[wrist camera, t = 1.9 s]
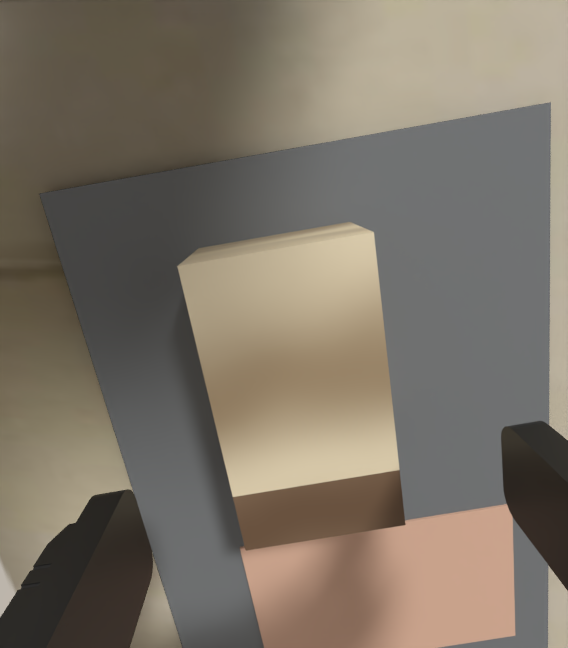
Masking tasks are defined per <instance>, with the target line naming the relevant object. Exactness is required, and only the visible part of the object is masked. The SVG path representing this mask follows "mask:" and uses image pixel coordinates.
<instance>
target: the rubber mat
mask: <svg viewBox="0 0 568 648" xmlns="http://www.w3.org/2000/svg"><path fill="white" fill-rule="evenodd" d="M550 138H551V102H550V103H545V104H539V105H533V106H528V107H522V108H517V109H511V110H505V111H500V112H494V113H489V114H483V115H477V116H472V117H466V118H461V119H455V120H449V121H444V122H438V123H433V124H427V125H421V126H416V127H410V128H404V129H399V130H393V131H388V132H382V133H376V134H371V135H365V136H360V137H354V138H348V139H343V140H337V141H332V142H326V143H320V144H315V145H309V146H304V147H298V148H292V149H287V150H281V151H276V152H270V153H264V154H259V155H253V156H247V157H242V158H236V159H231V160H225V161H219V162H214V163H208V164H203V165H197V166H191V167H186V168H180V169H175V170H169V171H163V172H158V173H152V174H147V175H141V176H135V177H130V178H124V179H119V180H113V181H107V182H102V183H96V184H90V185H85V186H79V187H74V188H68V189H62V190H57V191H51V192H46V193H40V194H39V195H40V198H41V201H42V204H43V207H44V210H45V214H46V217H47V220H48V223H49V226H50V229H51V233H52V236H53V239H54V242H55V245H56V248H57V252H58V255H59V258H60V261H61V264H62V267H63V270H64V274H65V277H66V280H67V283H68V286H69V289H70V293H71V296H72V299H73V302H74V305H75V308H76V312H77V315H78V318H79V321H80V324H81V327H82V331H83V334H84V337H85V340H86V343H87V346H88V350H89V353H90V356H91V359H92V362H93V365H94V368H95V372H96V375H97V378H98V381H99V384H100V387H101V391H102V394H103V397H104V400H105V403H106V406H107V410H108V413H109V416H110V419H111V422H112V425H113V429H114V432H115V435H116V438H117V441H118V444H119V448H120V451H121V454H122V457H123V460H124V463H125V466H126V470H127V473H128V476H129V479H130V482H131V485H132V489H133V492H134V495H135V498H136V500H137V504H138V507H139V510H140V513H141V517H142V520H143V523H144V526H145V529H146V533H147V536H148V539H149V542H150V546H151V549H152V552H153V555H154V558H155V561H156V564H157V568H158V571H159V574H160V577H161V580H162V583H163V587H164V590H165V593H166V596H167V599H168V602H169V606H170V609H171V612H172V615H173V618H174V621H175V625H176V628H177V631H178V634H179V637H180V640H181V644H182V647H183V648H548V564H547V562H546V561H545V560H544V559H543V557H542V556H541V555H540V553H539V552H538V551H537V549H536V548H535V547H534V545H533V544H532V543H531V541H530V540H529V539H528V537H527V536H526V535H525V533H524V532H523V531H522V529H521V528H520V527H519V525H518V524H517V523H516V521H515V520H514V518H513V517H512V515H511V513H510V511H509V508H508V506H507V503H506V500H505V496H504V490H503V470H502V449H501V432H502V429H503V428H504V427H506V426H511V425H517V424H523V423H529V422H535V421H543V422H545V423H547V424H548V425H549V325H550ZM347 222H351V223H354V224H356V225H358V226H361V227H363V228H365V229H368V230H370V231H372V232H374V238H375V247H376V257H377V266H378V275H379V284H380V294H381V303H382V312H383V321H384V330H385V340H386V349H387V358H388V367H389V377H390V386H391V395H392V404H393V414H394V423H395V432H396V441H397V451H398V460H399V469H400V478H401V487H402V497H403V506H404V515H405V524H406V525H403V526H397V527H391V528H384V529H378V530H372V531H366V532H359V533H353V534H347V535H341V536H334V537H328V538H322V539H316V540H309V541H303V542H297V543H291V544H284V545H278V546H272V547H266V548H259V549H253V550H247V551H246V550H245V546H244V542H243V537H242V533H241V529H240V525H239V521H238V517H237V513H236V508H235V504H234V500H233V496H232V492H231V488H230V483H229V479H228V475H227V471H226V467H225V463H224V458H223V454H222V450H221V446H220V442H219V438H218V433H217V429H216V425H215V421H214V417H213V413H212V408H211V404H210V400H209V396H208V392H207V388H206V384H205V379H204V375H203V371H202V367H201V363H200V359H199V354H198V350H197V346H196V342H195V338H194V334H193V329H192V325H191V321H190V317H189V313H188V309H187V304H186V300H185V296H184V292H183V288H182V284H181V280H180V275H179V271H178V267H177V266H178V265H179V264H181V263H182V262H183V261H184V260H185V259H186V258H188V257H189V256H190V255H191V254H192V253H194V252H195V251H196V250H197V249H198V248H203V247H209V246H215V245H220V244H226V243H232V242H238V241H243V240H249V239H255V238H261V237H266V236H272V235H278V234H284V233H289V232H295V231H301V230H306V229H312V228H318V227H324V226H329V225H335V224H341V223H347Z"/></svg>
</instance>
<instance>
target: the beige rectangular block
mask: <svg viewBox="0 0 568 648" xmlns="http://www.w3.org/2000/svg"><path fill="white" fill-rule="evenodd" d="M177 267H178V271H179V275H180V280H181V284H182V288H183V292H184V296H185V300H186V304H187V309H188V313H189V317H190V321H191V325H192V329H193V334H194V338H195V342H196V346H197V350H198V354H199V359H200V363H201V367H202V371H203V375H204V379H205V384H206V388H207V392H208V396H209V400H210V404H211V408H212V413H213V417H214V421H215V425H216V429H217V433H218V438H219V442H220V446H221V450H222V454H223V458H224V463H225V467H226V471H227V475H228V479H229V483H230V488H231V492H232V496H233V500H234V504H235V508H236V513H237V517H238V521H239V525H240V529H241V533H242V537H243V542H244V546H245V550H246V551H247V550H253V549H259V548H266V547H272V546H278V545H284V544H291V543H297V542H303V541H309V540H316V539H322V538H328V537H334V536H341V535H347V534H353V533H359V532H366V531H372V530H378V529H384V528H391V527H397V526H403V525H406V524H405V515H404V506H403V497H402V487H401V478H400V469H399V460H398V451H397V441H396V432H395V423H394V414H393V404H392V395H391V386H390V377H389V367H388V358H387V349H386V340H385V330H384V321H383V312H382V303H381V294H380V284H379V275H378V266H377V257H376V247H375V238H374V232H372V231H370V230H368V229H365V228H363V227H361V226H358V225H356V224H354V223H351V222H347V223H341V224H335V225H329V226H324V227H318V228H312V229H306V230H301V231H295V232H289V233H284V234H278V235H272V236H266V237H261V238H255V239H249V240H243V241H238V242H232V243H226V244H220V245H215V246H209V247H203V248H198V249H197V250H196V251H195V252H194V253H192V254H191V255H190V256H189V257H188V258H186V259H185V260H184V261H183V262H182V263H181V264H179V265H178V266H177Z"/></svg>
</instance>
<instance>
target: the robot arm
mask: <svg viewBox="0 0 568 648" xmlns="http://www.w3.org/2000/svg"><path fill="white" fill-rule="evenodd" d="M501 449H502V470H503V490H504V496H505V500H506V503H507V506H508V508H509V511H510V513H511V515H512V517H513V518H514V520H515V521H516V523H517V524H518V525H519V527H520V528H521V529H522V531H523V532H524V533H525V535H526V536H527V537H528V539H529V540H530V541H531V543H532V544H533V545H534V547H535V548H536V549H537V551H538V552H539V553H540V555H541V556H542V557H543V559H544V560H545V561H546V562H547V564H548V565H549V566H550V568H551V569H552V570H553V572H554V573H555V574H556V576H557V577H558V578H559V580H560V581H561V582H562V584H563V585H564V586H565V588H566V589H567V590H568V441H567V440H566V439H565V438H564V437H563V436H561V435H560V434H559V433H558V432H557V431H555V430H554V429H553V428H552V427H550V426H549V425H548V424H547V423H545V422H543V421H535V422H529V423H523V424H517V425H511V426H506V427H504V428H503V429H502V432H501ZM33 567H34V569H33V570H32V571H30V572H29V574H28V575H27V577H26V578H25V580H24V582H23V583H22V585H21V586H22V587H21V590H18V591H17V592H16V594H15V596H14V597H13V599H12V600H11V602H10V604H9V605H8V606H7V608H6V610H5V611H4V613H3V614H2V616H1V617H0V648H129V647H130V644H131V641H132V638H133V635H134V632H135V628H136V625H137V622H138V619H139V616H140V612H141V609H142V606H143V603H144V600H145V596H146V593H147V590H148V587H149V584H150V580H151V576H152V568H153V558H152V550H151V546H150V542H149V539H148V536H147V533H146V529H145V526H144V523H143V520H142V517H141V513H140V510H139V507H138V504H137V500H136V498H135V495H134V493H133V492H132V491H131V490H122V491H116V492H110V493H105V494H99V495H94V496H93V497H91V499H90V500H89V502H88V503H87V505H86V507H85V508H84V510H83V512H82V513H81V515H80V517H79V518H78V520H77V522H76V523H73V524H69V525H68V526H67V527H65V528H64V529H63V530H62V531H61V532H60V533H59V534H58V535H57V536H56V537H55V538H54V539H53V540H52V541H50V542H49V543H48V544H47V546H46V547H45V549H44V550H43V552H42V554H41V555H40V557H39V558H38V560H37V561H36V563H35V564H34V566H33Z"/></svg>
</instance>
